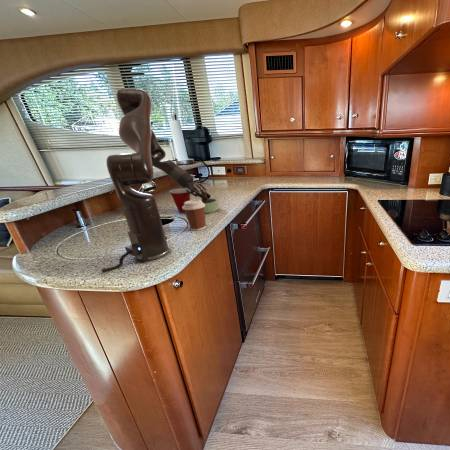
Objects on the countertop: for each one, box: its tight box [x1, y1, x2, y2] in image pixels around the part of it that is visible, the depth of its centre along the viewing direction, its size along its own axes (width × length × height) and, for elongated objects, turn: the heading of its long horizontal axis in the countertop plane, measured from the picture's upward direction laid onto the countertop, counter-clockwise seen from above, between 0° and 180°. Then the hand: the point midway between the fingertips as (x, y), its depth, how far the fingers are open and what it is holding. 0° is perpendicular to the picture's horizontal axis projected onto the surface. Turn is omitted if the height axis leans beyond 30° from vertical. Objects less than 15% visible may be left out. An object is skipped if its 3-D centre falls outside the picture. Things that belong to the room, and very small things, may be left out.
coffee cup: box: [182, 199, 207, 232], centre depth 103 cm, size 9×9×12 cm
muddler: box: [200, 190, 210, 204], centre depth 129 cm, size 4×4×10 cm
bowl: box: [204, 197, 220, 215], centre depth 130 cm, size 13×13×6 cm
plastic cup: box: [168, 188, 191, 213], centre depth 131 cm, size 11×11×12 cm
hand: (208, 198), depth 128 cm, fingers closed on muddler, 4 cm apart
